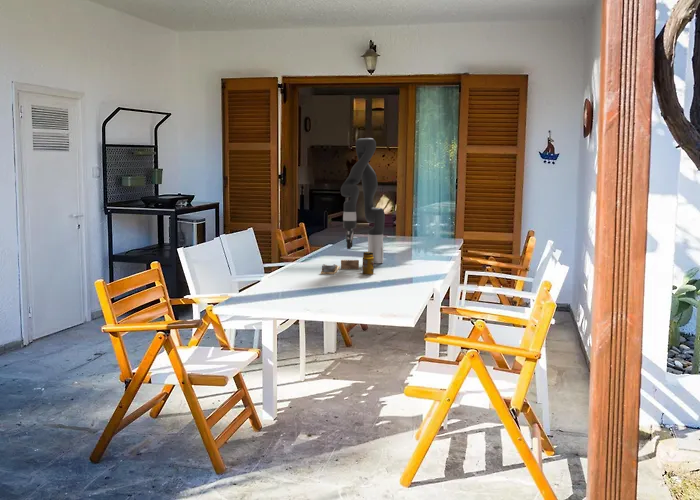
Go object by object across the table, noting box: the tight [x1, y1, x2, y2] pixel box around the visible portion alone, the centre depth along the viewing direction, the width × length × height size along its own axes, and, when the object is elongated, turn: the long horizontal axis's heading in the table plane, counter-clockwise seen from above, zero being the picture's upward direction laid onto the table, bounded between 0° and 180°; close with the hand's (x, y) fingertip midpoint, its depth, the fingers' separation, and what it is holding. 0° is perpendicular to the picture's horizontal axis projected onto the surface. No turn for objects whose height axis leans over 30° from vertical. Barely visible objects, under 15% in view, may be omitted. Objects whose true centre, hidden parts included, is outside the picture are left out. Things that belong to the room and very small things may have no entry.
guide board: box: [320, 263, 341, 275], centre depth 391 cm, size 8×22×4 cm, turn 174°
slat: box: [340, 259, 360, 270], centre depth 398 cm, size 10×3×5 cm, turn 84°
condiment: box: [356, 251, 375, 276], centre depth 379 cm, size 7×8×12 cm
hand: (349, 248), depth 397 cm, fingers open, 8 cm apart
